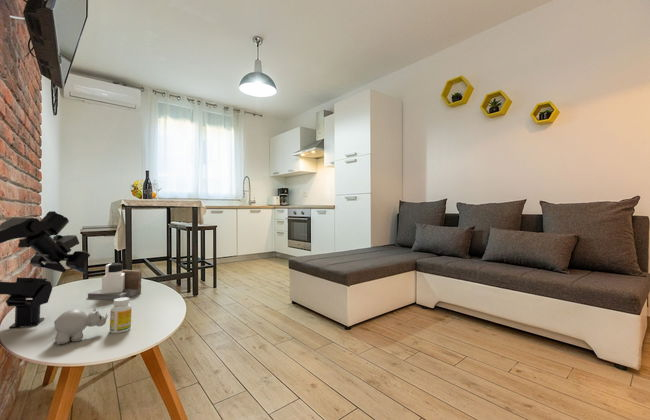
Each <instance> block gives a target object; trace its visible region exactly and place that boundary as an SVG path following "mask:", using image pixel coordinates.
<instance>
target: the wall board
mask: <svg viewBox="0 0 650 420" xmlns="http://www.w3.org/2000/svg"><path fill="white" fill-rule="evenodd" d="M122 273H125V288H124V290H123V291H122V292H120V293H109V294H102V289H99V290H95V291H91V292H88V293H87V299H93V300H111V301H112V300H113V301H114V300H115V299H117V298H123V297H127V298H130V296H131V297H133V296H136V295H138V294H141V293H142V273H143V271H142V270H134V269H133V270H132V269H123V272H122Z"/></svg>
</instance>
